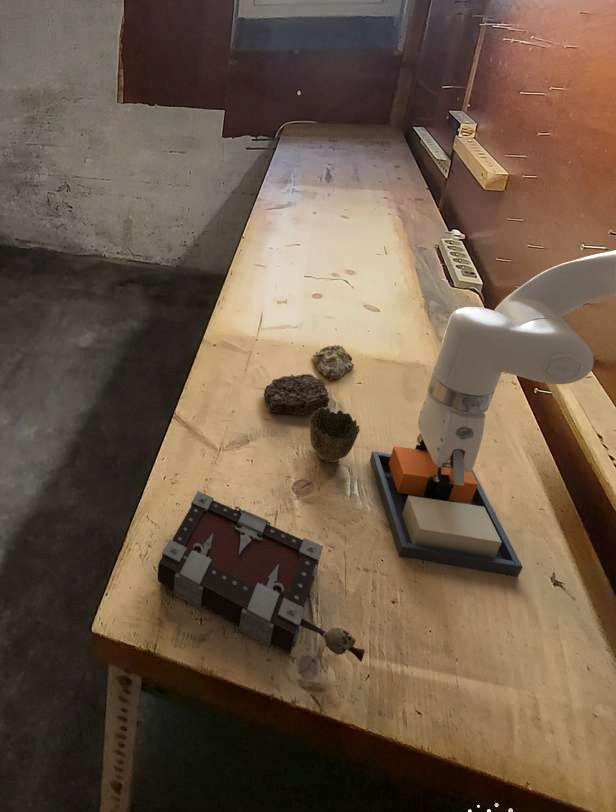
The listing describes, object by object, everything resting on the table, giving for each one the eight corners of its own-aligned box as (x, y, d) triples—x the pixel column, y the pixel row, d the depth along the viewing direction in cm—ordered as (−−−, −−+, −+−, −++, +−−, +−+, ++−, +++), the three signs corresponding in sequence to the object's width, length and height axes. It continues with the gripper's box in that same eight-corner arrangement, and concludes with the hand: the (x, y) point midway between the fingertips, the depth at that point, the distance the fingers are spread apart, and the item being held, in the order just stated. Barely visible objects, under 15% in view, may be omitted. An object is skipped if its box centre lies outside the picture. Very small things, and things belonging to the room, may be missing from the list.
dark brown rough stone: (323, 392, 112) (328, 371, 110) (327, 425, 103) (332, 403, 101) (263, 382, 115) (266, 362, 113) (262, 414, 107) (266, 393, 104)
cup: (351, 449, 98) (360, 413, 94) (350, 479, 92) (359, 442, 88) (305, 438, 101) (312, 402, 97) (302, 466, 95) (309, 430, 91)
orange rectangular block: (456, 474, 90) (463, 455, 88) (470, 503, 85) (478, 484, 83) (388, 464, 92) (393, 446, 90) (397, 492, 87) (403, 473, 85)
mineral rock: (314, 339, 125) (354, 339, 120) (317, 356, 126) (356, 356, 122) (307, 366, 116) (349, 368, 112) (310, 384, 118) (352, 386, 113)
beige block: (476, 525, 83) (484, 506, 81) (493, 561, 77) (501, 542, 76) (401, 514, 85) (408, 495, 83) (413, 548, 80) (420, 529, 78)
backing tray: (465, 476, 92) (470, 464, 91) (516, 579, 76) (522, 567, 75) (368, 462, 95) (372, 451, 94) (398, 559, 79) (402, 546, 78)
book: (196, 511, 87) (198, 487, 85) (373, 593, 75) (381, 567, 72) (154, 587, 76) (156, 562, 74) (353, 697, 64) (361, 671, 62)
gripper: (516, 434, 72) (476, 531, 80) (466, 358, 87) (437, 446, 95) (451, 426, 74) (418, 522, 82) (413, 353, 89) (388, 439, 97)
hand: (428, 480), depth 88 cm, fingers closed on orange rectangular block, 6 cm apart
